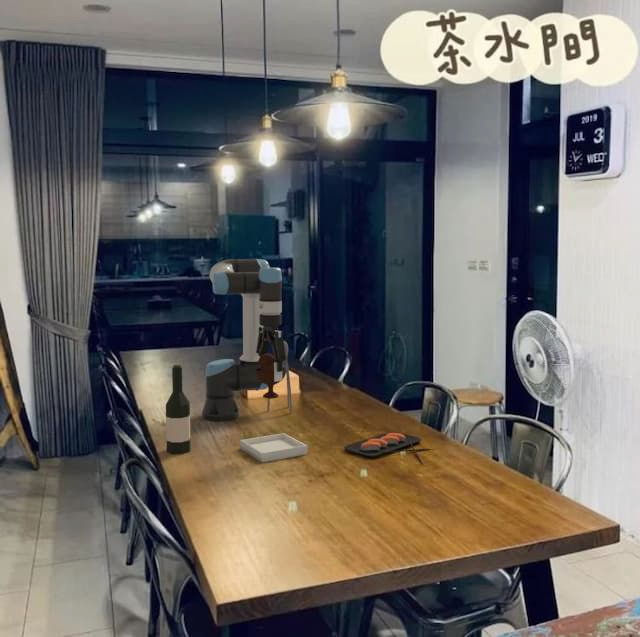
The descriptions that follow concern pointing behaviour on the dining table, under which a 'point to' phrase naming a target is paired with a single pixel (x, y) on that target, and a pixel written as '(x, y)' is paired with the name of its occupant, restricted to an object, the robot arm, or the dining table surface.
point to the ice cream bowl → (268, 374)
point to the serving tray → (273, 447)
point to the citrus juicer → (284, 364)
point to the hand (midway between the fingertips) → (270, 377)
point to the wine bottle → (178, 417)
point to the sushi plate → (384, 444)
